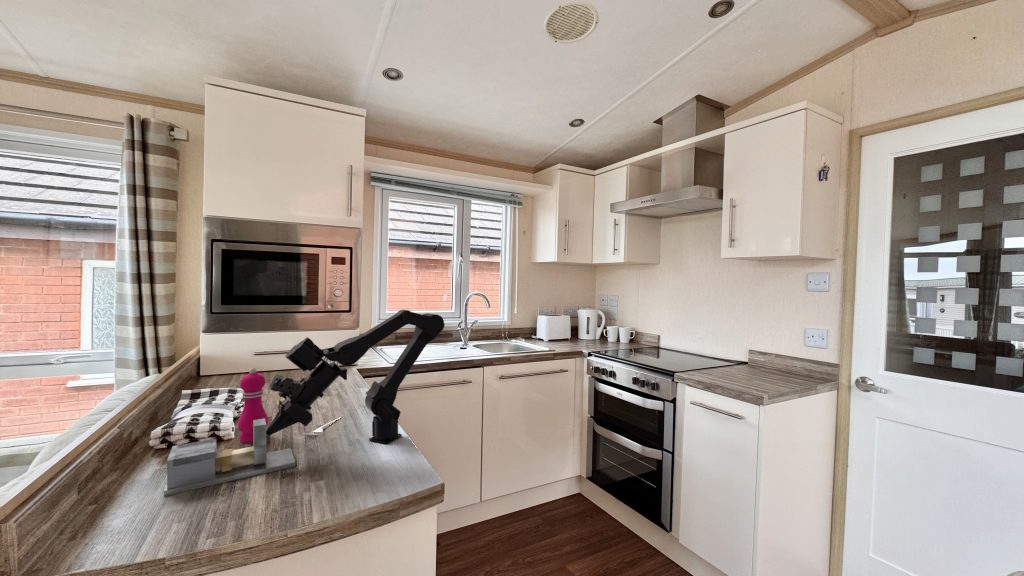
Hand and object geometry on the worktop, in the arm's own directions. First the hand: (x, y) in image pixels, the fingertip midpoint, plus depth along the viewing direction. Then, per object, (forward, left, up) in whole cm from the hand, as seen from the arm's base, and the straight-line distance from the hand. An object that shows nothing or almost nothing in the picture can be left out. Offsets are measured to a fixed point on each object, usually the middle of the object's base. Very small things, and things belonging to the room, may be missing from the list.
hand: (266, 434), depth 97 cm
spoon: (+44, -43, -8) cm, 62 cm away
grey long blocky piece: (+3, +5, -7) cm, 10 cm away
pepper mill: (+19, -9, -7) cm, 22 cm away
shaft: (+4, +7, -6) cm, 10 cm away
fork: (+8, -25, -8) cm, 27 cm away
